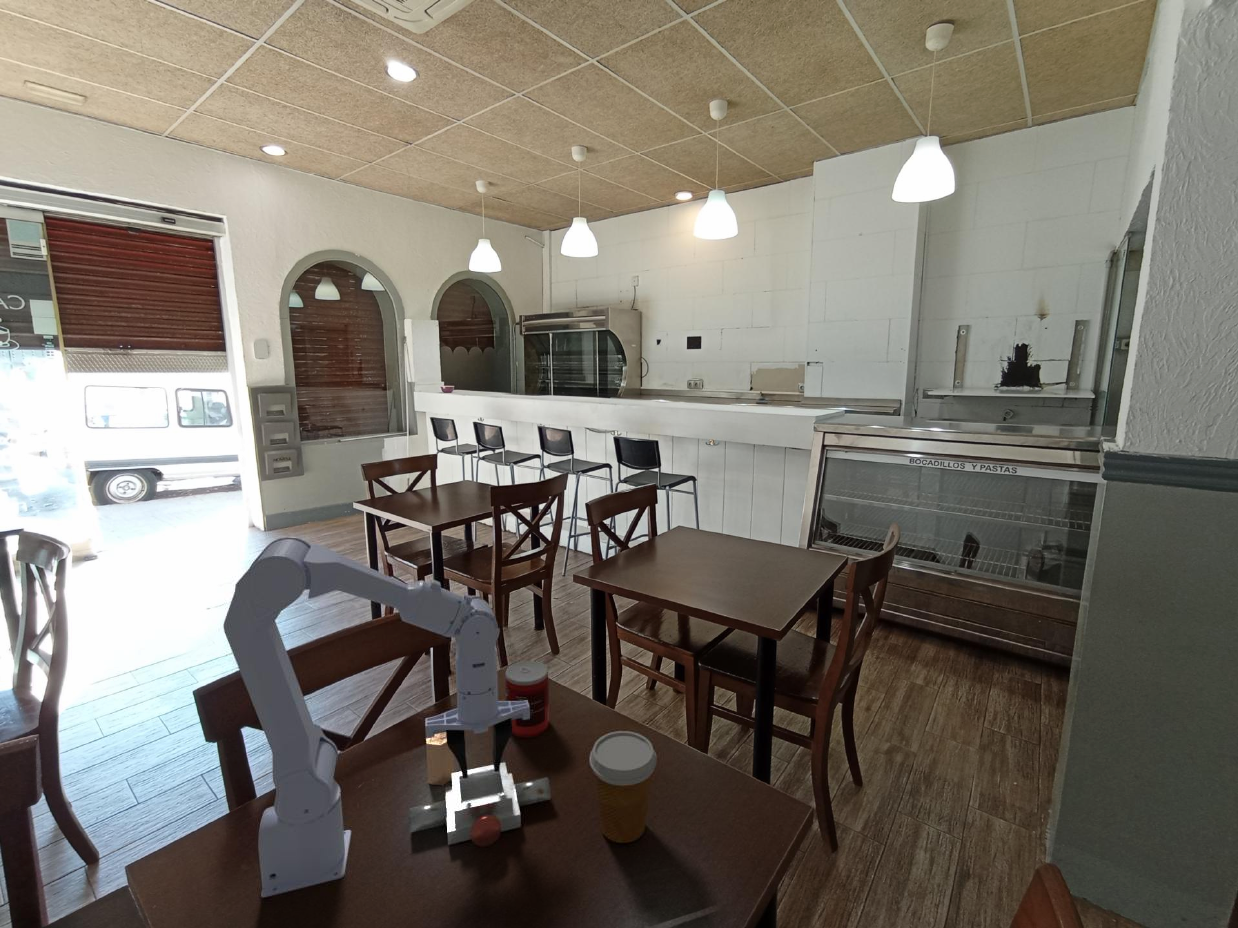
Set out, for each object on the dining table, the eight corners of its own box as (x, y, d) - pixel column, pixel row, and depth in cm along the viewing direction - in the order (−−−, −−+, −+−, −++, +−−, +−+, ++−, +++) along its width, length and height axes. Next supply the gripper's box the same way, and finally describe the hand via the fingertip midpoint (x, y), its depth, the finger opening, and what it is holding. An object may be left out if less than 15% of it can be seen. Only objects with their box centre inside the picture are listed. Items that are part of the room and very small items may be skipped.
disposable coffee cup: (579, 841, 78) (578, 763, 77) (604, 794, 87) (604, 723, 85) (644, 861, 75) (645, 779, 73) (663, 810, 84) (664, 736, 82)
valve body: (409, 868, 74) (407, 838, 73) (411, 807, 85) (409, 779, 84) (558, 830, 80) (558, 801, 80) (543, 777, 91) (542, 751, 90)
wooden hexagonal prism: (429, 788, 89) (427, 747, 88) (427, 769, 93) (425, 730, 92) (455, 781, 90) (453, 741, 89) (452, 763, 94) (451, 725, 93)
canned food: (527, 708, 110) (526, 656, 108) (558, 723, 105) (557, 668, 104) (497, 728, 104) (495, 672, 102) (528, 744, 99) (527, 686, 98)
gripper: (423, 708, 75) (428, 801, 77) (532, 689, 79) (534, 777, 81) (423, 681, 81) (428, 767, 83) (524, 665, 86) (526, 747, 88)
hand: (480, 770), depth 83 cm, fingers open, 4 cm apart
